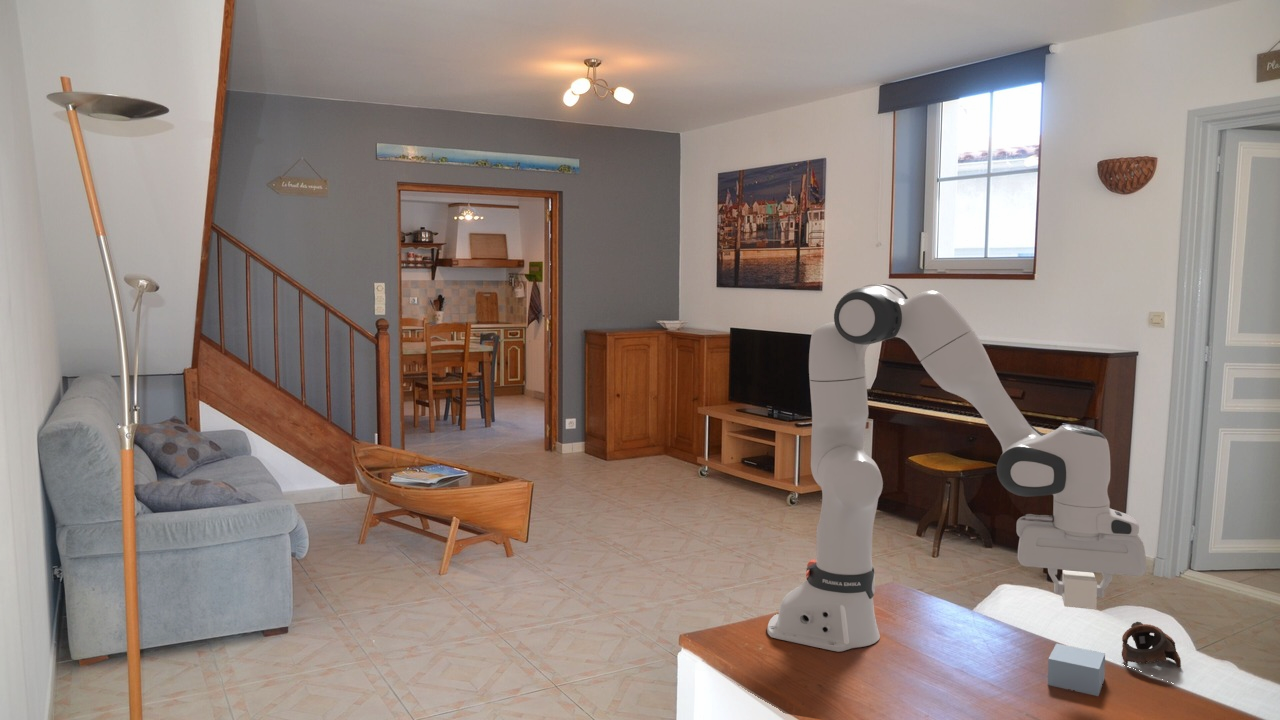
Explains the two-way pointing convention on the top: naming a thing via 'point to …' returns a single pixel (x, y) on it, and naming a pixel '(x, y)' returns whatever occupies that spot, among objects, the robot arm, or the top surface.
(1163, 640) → the brown hollow ring shell
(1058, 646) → the slate block
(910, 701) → the top surface
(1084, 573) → the cream cube
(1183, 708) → the top surface
